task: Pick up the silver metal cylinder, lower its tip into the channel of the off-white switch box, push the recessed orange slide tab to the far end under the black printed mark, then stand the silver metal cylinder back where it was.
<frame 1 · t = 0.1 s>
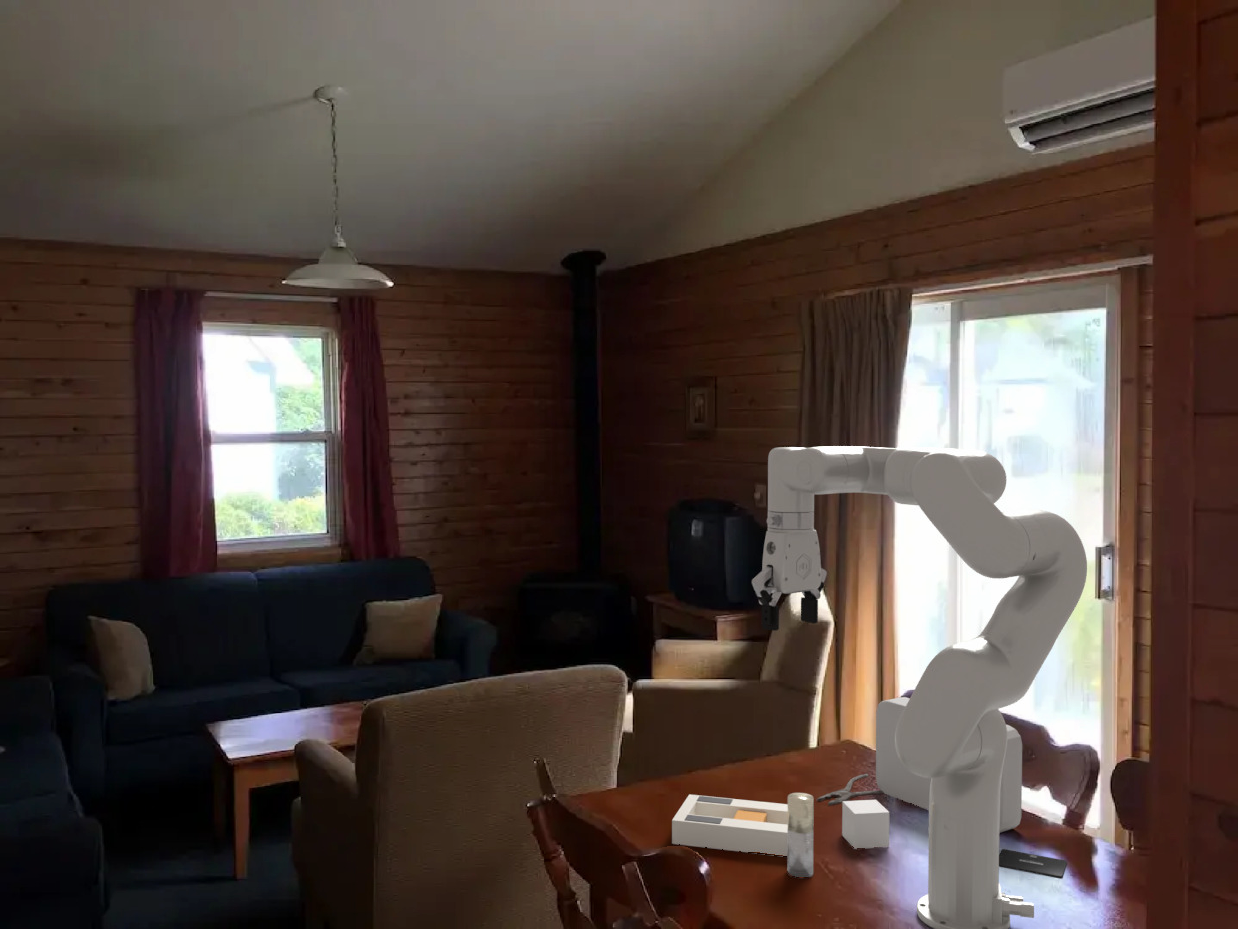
hand: (790, 625, 173), 37 cm above the table, tool pointing down, fingers open, 9 cm apart
white cube: (865, 842, 177), on the table
solid state drive: (1031, 867, 168), on the table
pliers: (862, 796, 201), on the table
switch tab: (749, 824, 179), point 2 cm above the table, slide at 0.0 cm
rounded white slab: (944, 811, 192), on the table
silver metal cylinder: (800, 873, 165), on the table
switch box: (743, 836, 179), on the table
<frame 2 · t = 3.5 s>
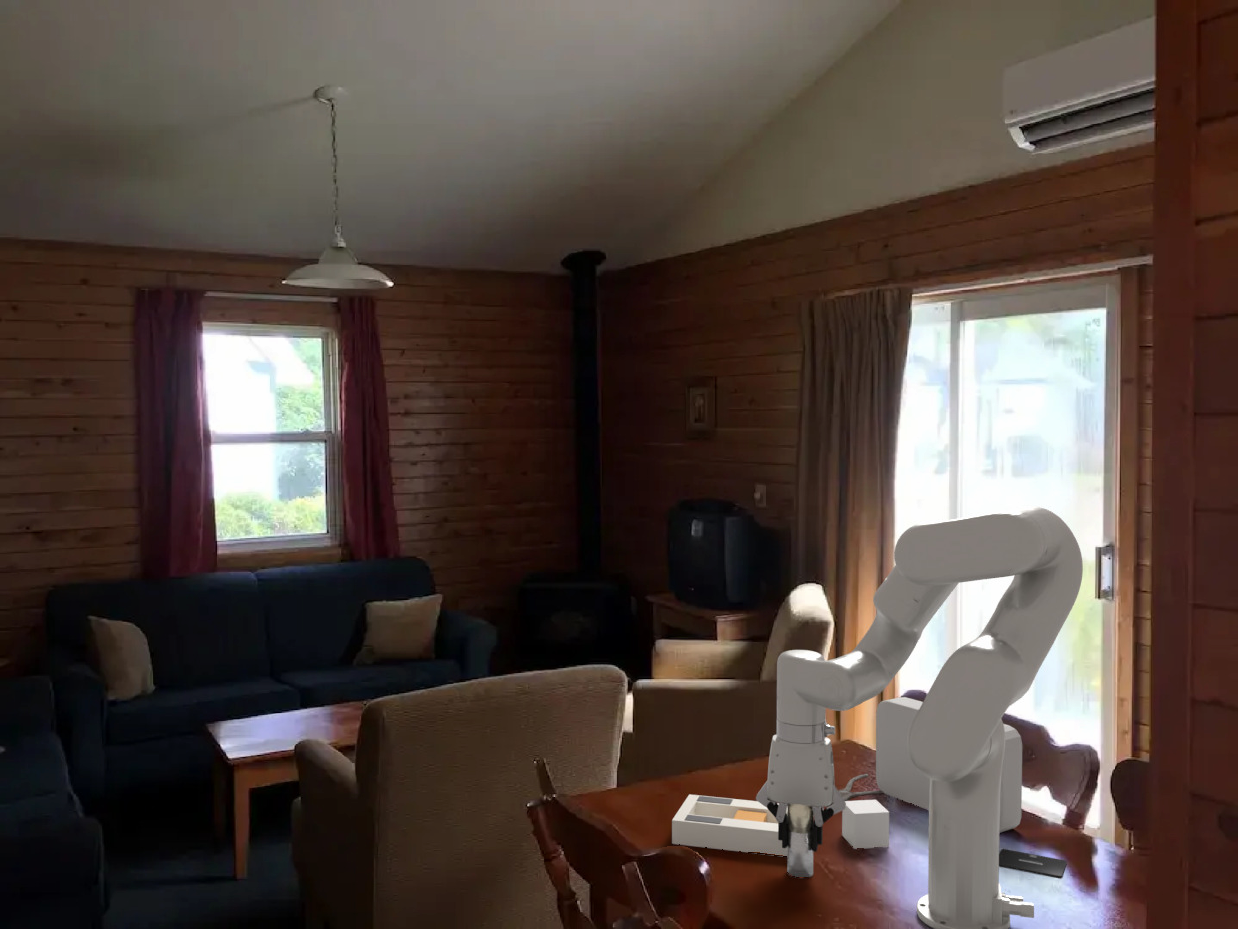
hand: (800, 845, 164), 4 cm above the table, tool pointing down, fingers closed on silver metal cylinder, 4 cm apart
silver metal cylinder: (800, 873, 165), on the table, touching gripper
everything else where it was.
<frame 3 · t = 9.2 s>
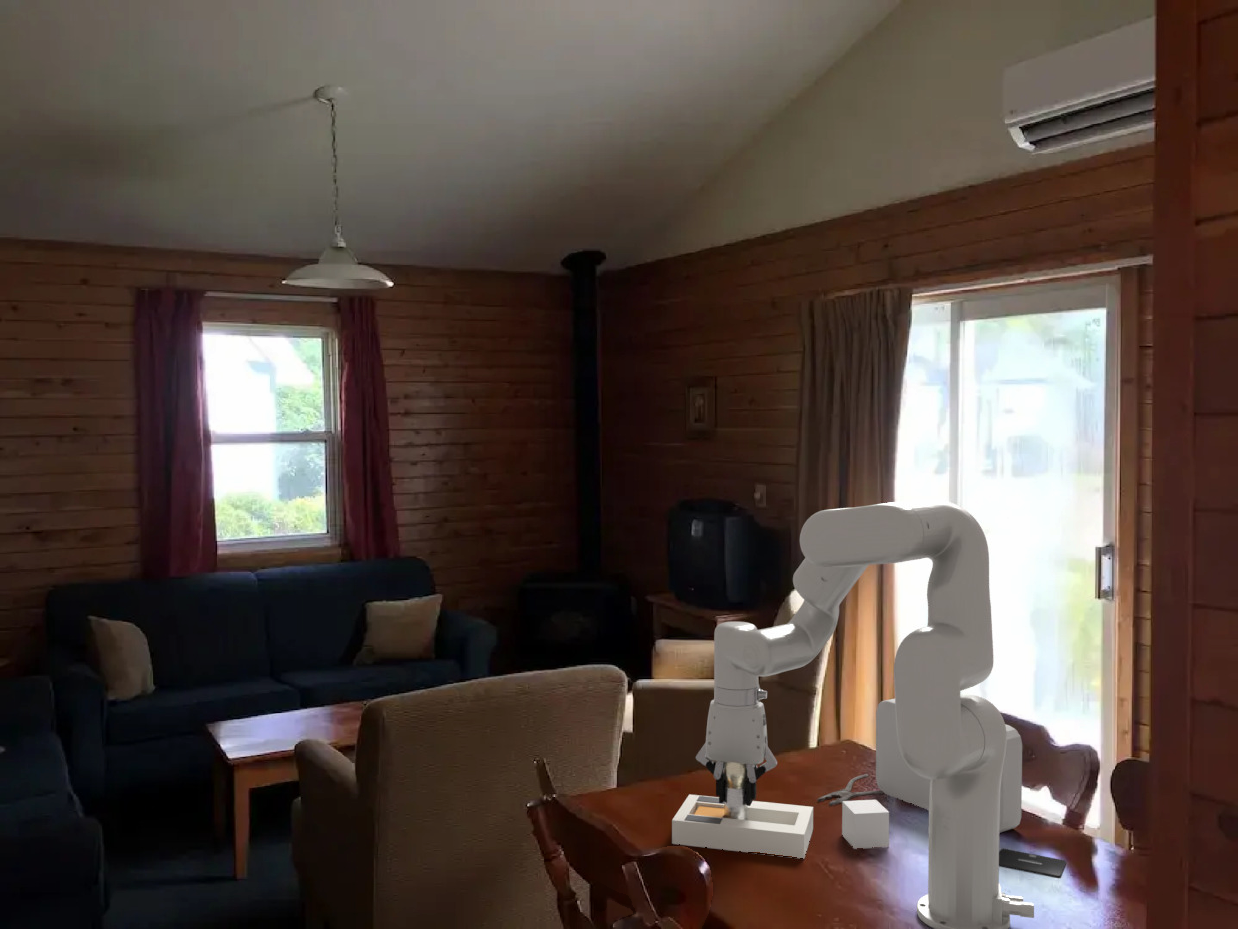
hand: (736, 800, 179), 6 cm above the table, tool pointing down, fingers closed on silver metal cylinder, 4 cm apart
switch tab: (710, 819, 181), point 2 cm above the table, slide at 6.8 cm, touching silver metal cylinder
silver metal cylinder: (736, 825, 180), point 2 cm above the table, touching gripper, switch tab
everything else where it was.
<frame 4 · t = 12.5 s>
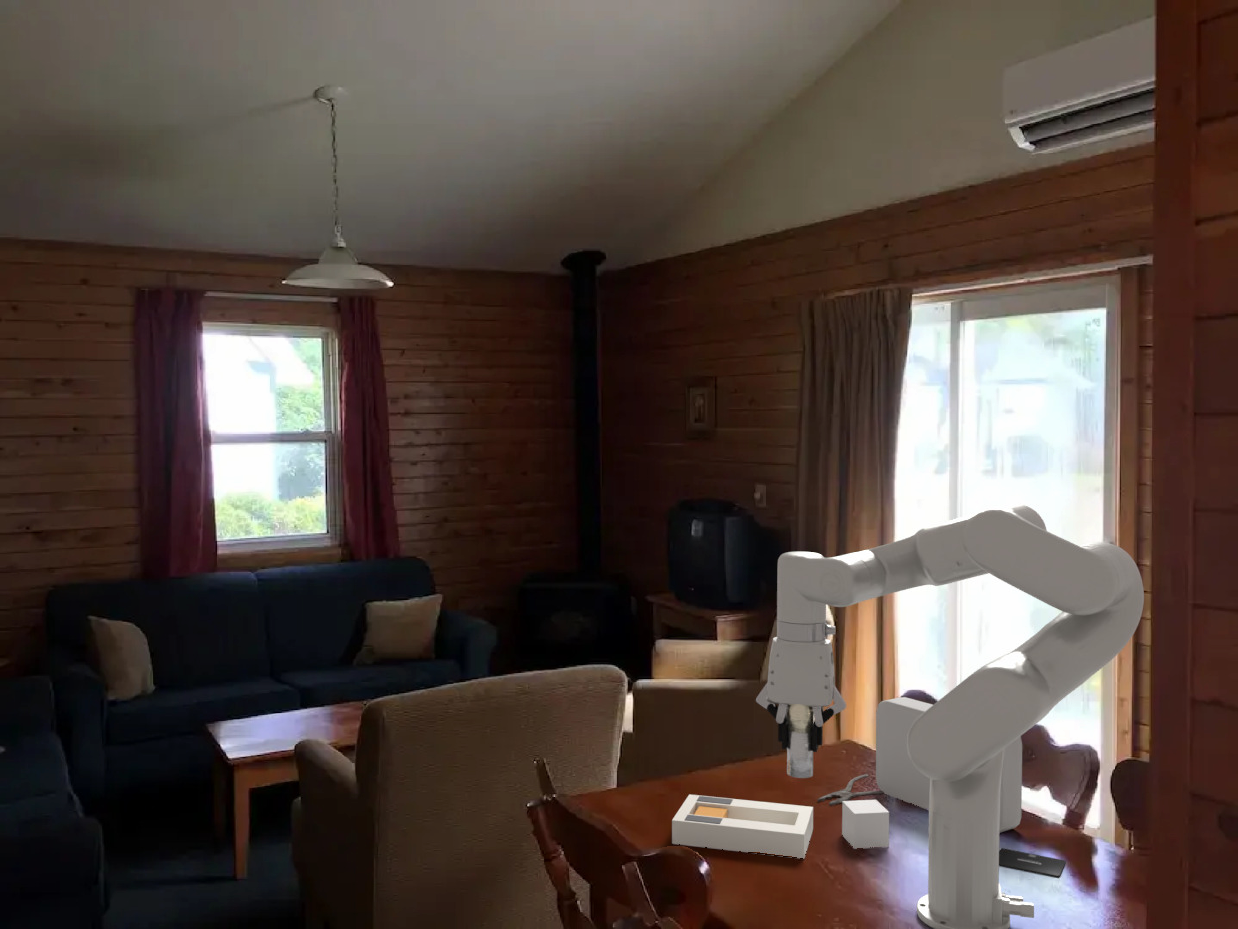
hand: (800, 747, 164), 20 cm above the table, tool pointing down, fingers closed on silver metal cylinder, 4 cm apart
switch tab: (710, 819, 181), point 2 cm above the table, slide at 6.8 cm
silver metal cylinder: (800, 773, 164), point 16 cm above the table, touching gripper
everything else where it was.
when the fingers open (5 cm above the table, at t = 15.3 s): silver metal cylinder stays where it is, on the table.
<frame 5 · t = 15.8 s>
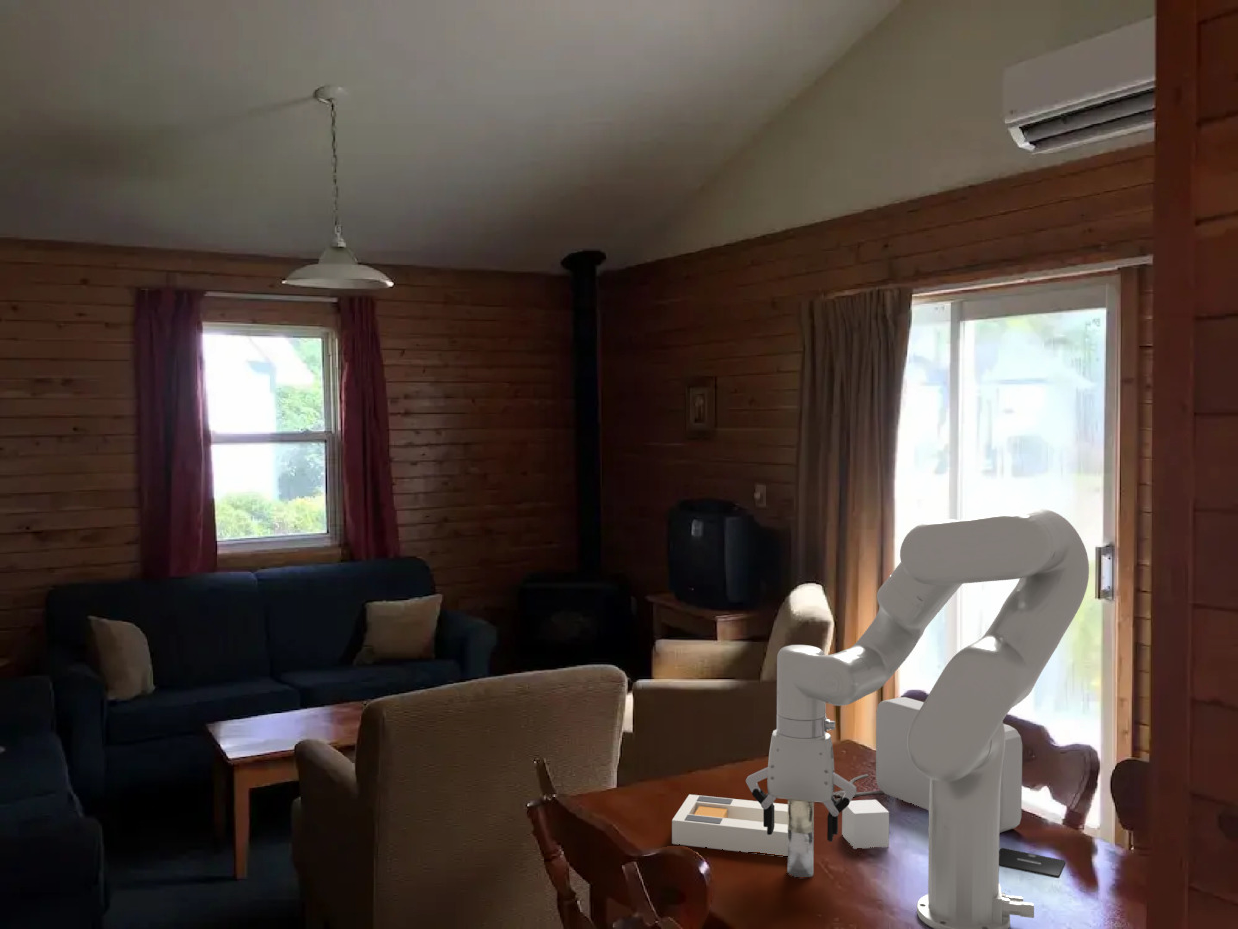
hand: (800, 835, 164), 6 cm above the table, tool pointing down, fingers open, 9 cm apart
silver metal cylinder: (800, 873, 165), on the table
everything else where it was.
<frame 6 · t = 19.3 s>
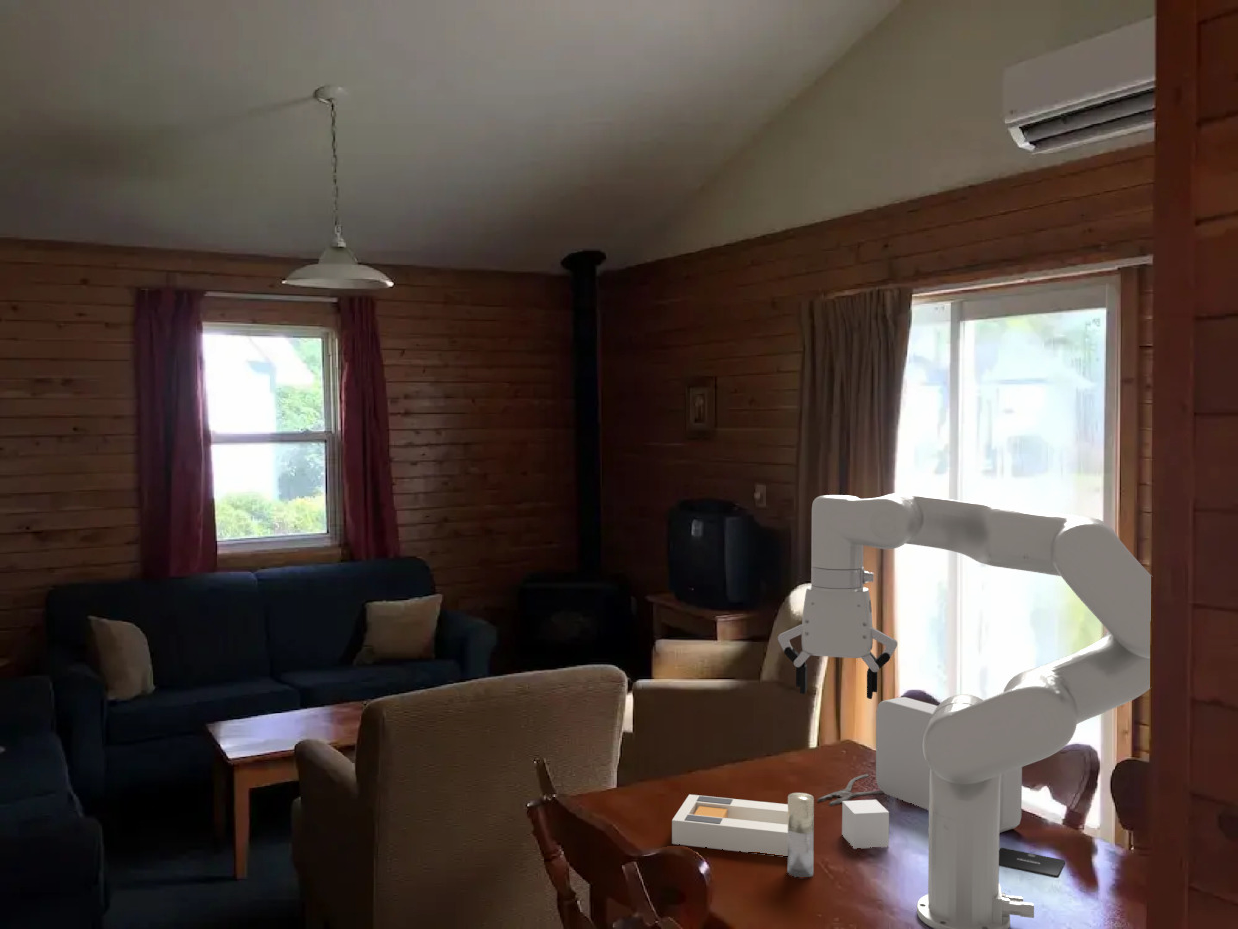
hand: (836, 694, 155), 30 cm above the table, tool pointing down, fingers open, 9 cm apart
nothing on the table moved.
at the end: switch tab slide at 6.8 cm; silver metal cylinder tilted 0°; silver metal cylinder inside the target area (0.0 cm from its centre), on the table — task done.
